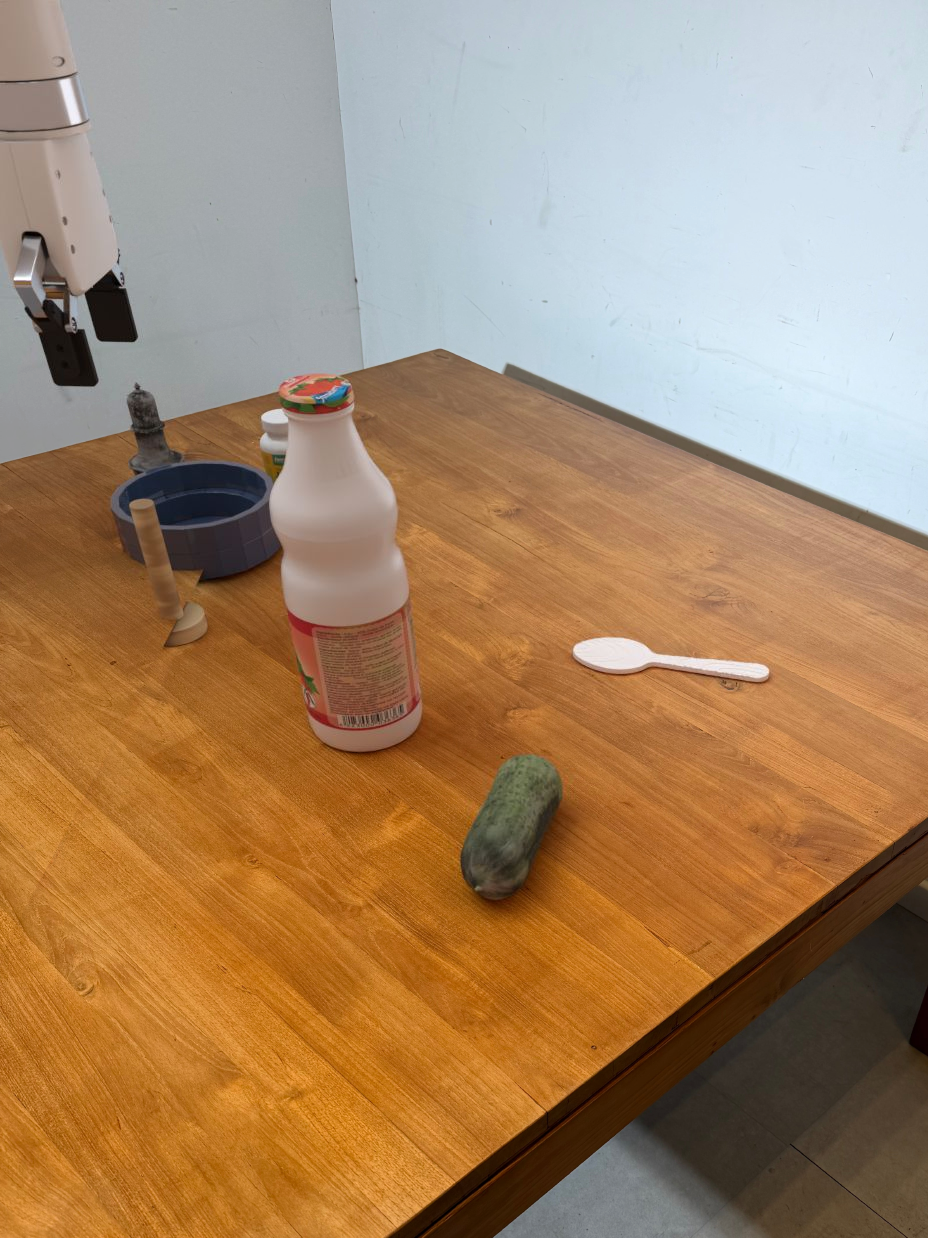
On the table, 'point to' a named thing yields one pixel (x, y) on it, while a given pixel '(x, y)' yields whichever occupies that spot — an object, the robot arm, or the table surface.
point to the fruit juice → (343, 574)
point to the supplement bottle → (274, 442)
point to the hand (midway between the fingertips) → (98, 362)
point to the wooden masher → (165, 577)
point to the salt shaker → (148, 434)
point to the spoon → (657, 660)
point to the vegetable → (510, 826)
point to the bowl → (203, 515)
